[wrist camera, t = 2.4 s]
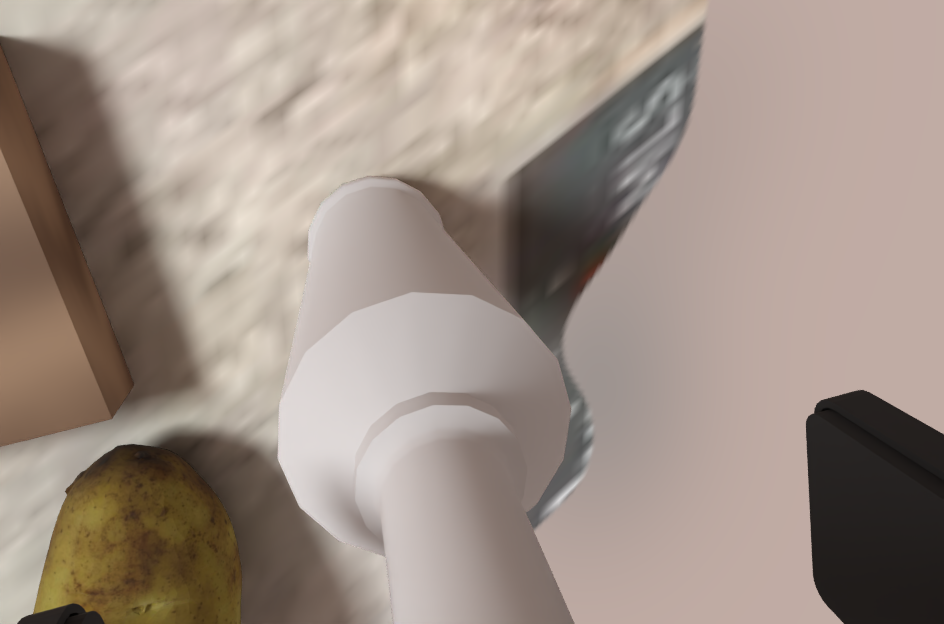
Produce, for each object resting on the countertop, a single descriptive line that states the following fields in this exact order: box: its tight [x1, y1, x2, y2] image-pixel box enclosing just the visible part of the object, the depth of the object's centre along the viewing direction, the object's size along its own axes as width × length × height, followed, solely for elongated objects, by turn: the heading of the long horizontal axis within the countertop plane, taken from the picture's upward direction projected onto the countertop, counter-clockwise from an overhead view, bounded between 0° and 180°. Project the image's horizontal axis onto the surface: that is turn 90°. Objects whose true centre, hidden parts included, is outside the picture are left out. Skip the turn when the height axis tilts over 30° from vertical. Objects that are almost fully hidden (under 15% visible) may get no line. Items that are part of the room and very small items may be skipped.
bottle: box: [278, 176, 574, 624], centre depth 16 cm, size 5×5×25 cm
